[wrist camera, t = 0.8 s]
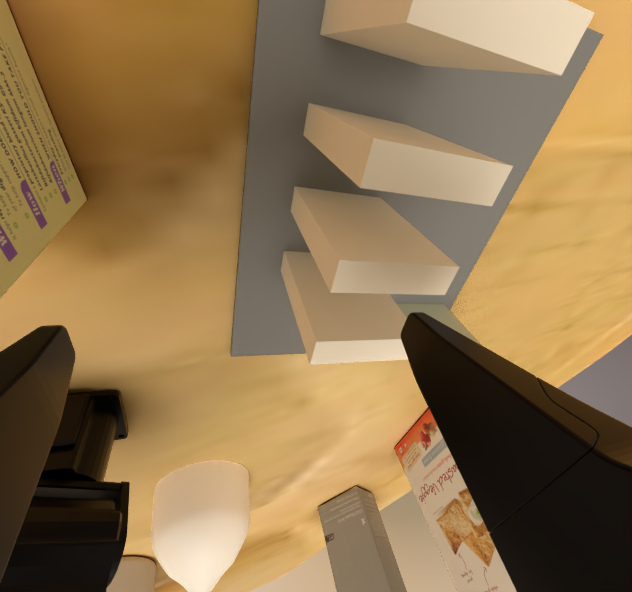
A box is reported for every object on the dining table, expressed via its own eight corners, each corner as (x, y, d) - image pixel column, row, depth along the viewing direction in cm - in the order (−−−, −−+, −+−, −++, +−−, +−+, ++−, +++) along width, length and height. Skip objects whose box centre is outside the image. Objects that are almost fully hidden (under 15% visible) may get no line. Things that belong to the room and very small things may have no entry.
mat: (425, 344, 34) (428, 348, 33) (230, 352, 27) (230, 356, 27) (595, 35, 19) (603, 34, 19) (266, -105, 13) (268, -110, 12)
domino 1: (423, 65, 17) (561, 75, 11) (320, 34, 16) (406, 22, 9) (435, 28, 17) (594, 13, 10) (327, -10, 15) (430, -63, 8)
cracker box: (442, 386, 40) (596, 612, 24) (476, 388, 42) (636, 593, 26) (390, 448, 47) (482, 655, 31) (421, 446, 49) (522, 637, 33)
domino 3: (373, 219, 22) (444, 295, 16) (290, 211, 20) (330, 292, 14) (380, 197, 22) (459, 266, 15) (294, 186, 20) (339, 259, 13)
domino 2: (395, 152, 20) (491, 206, 13) (303, 135, 18) (359, 188, 11) (404, 124, 19) (513, 166, 12) (308, 102, 17) (373, 138, 10)
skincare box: (356, 484, 52) (400, 617, 40) (374, 492, 56) (419, 614, 44) (314, 507, 53) (344, 642, 41) (334, 514, 58) (367, 638, 45)
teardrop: (265, 475, 42) (280, 593, 33) (197, 511, 44) (194, 634, 34) (211, 448, 35) (211, 588, 26) (131, 492, 37) (105, 640, 27)
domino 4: (355, 273, 25) (410, 359, 18) (280, 270, 23) (309, 364, 16) (361, 255, 24) (421, 338, 17) (283, 250, 22) (316, 341, 15)
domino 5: (437, 317, 31) (502, 394, 24) (382, 317, 29) (436, 402, 22) (444, 304, 30) (514, 380, 23) (388, 303, 28) (446, 387, 21)
